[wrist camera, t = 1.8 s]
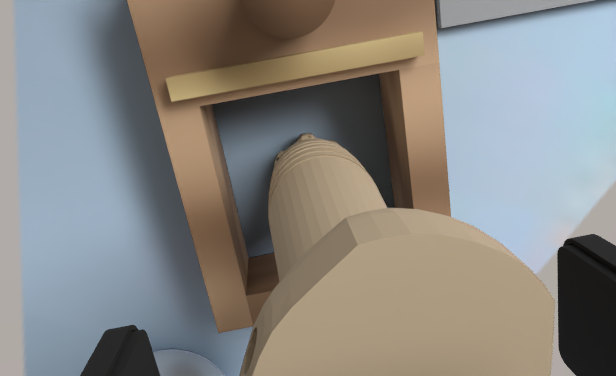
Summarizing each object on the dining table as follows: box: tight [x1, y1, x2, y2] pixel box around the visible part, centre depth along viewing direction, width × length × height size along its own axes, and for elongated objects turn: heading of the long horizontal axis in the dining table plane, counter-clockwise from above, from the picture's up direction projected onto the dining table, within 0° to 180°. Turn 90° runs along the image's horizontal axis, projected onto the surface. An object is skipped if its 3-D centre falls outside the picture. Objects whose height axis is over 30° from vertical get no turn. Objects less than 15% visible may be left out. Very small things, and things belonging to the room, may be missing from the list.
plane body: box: [127, 0, 451, 333], centre depth 18 cm, size 15×10×6 cm
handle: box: [239, 133, 555, 376], centre depth 15 cm, size 5×6×15 cm
